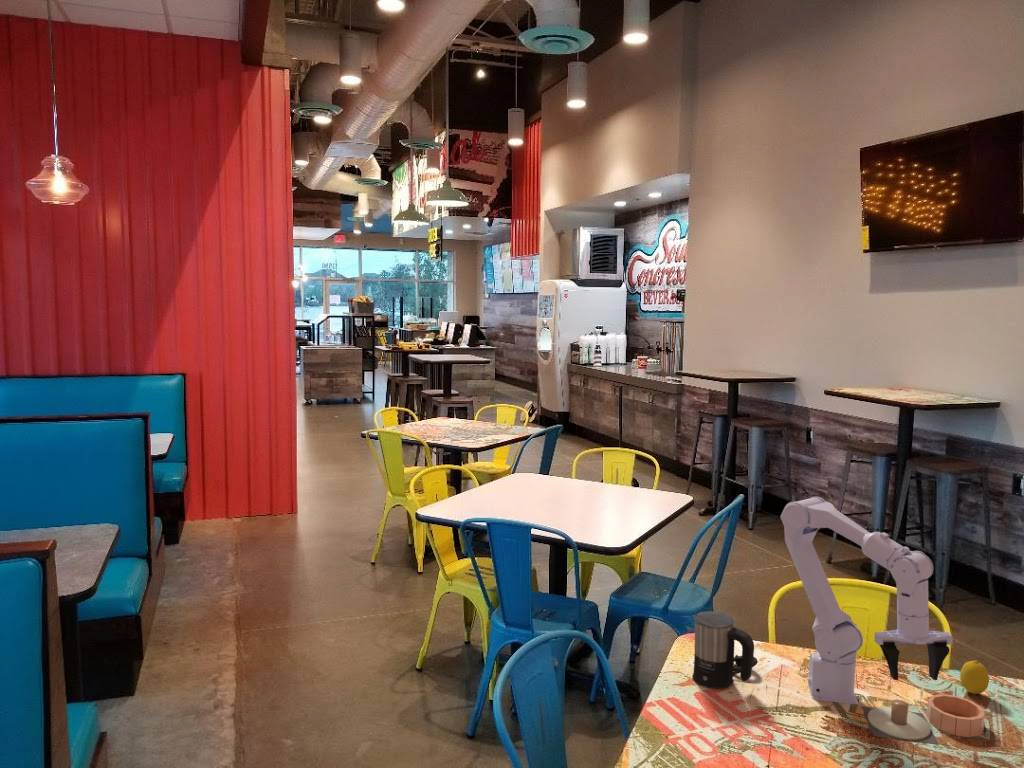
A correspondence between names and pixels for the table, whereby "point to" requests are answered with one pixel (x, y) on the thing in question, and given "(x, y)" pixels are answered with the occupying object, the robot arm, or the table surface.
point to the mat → (877, 733)
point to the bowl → (955, 715)
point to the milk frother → (720, 651)
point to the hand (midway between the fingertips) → (913, 678)
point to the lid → (899, 721)
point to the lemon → (974, 677)
